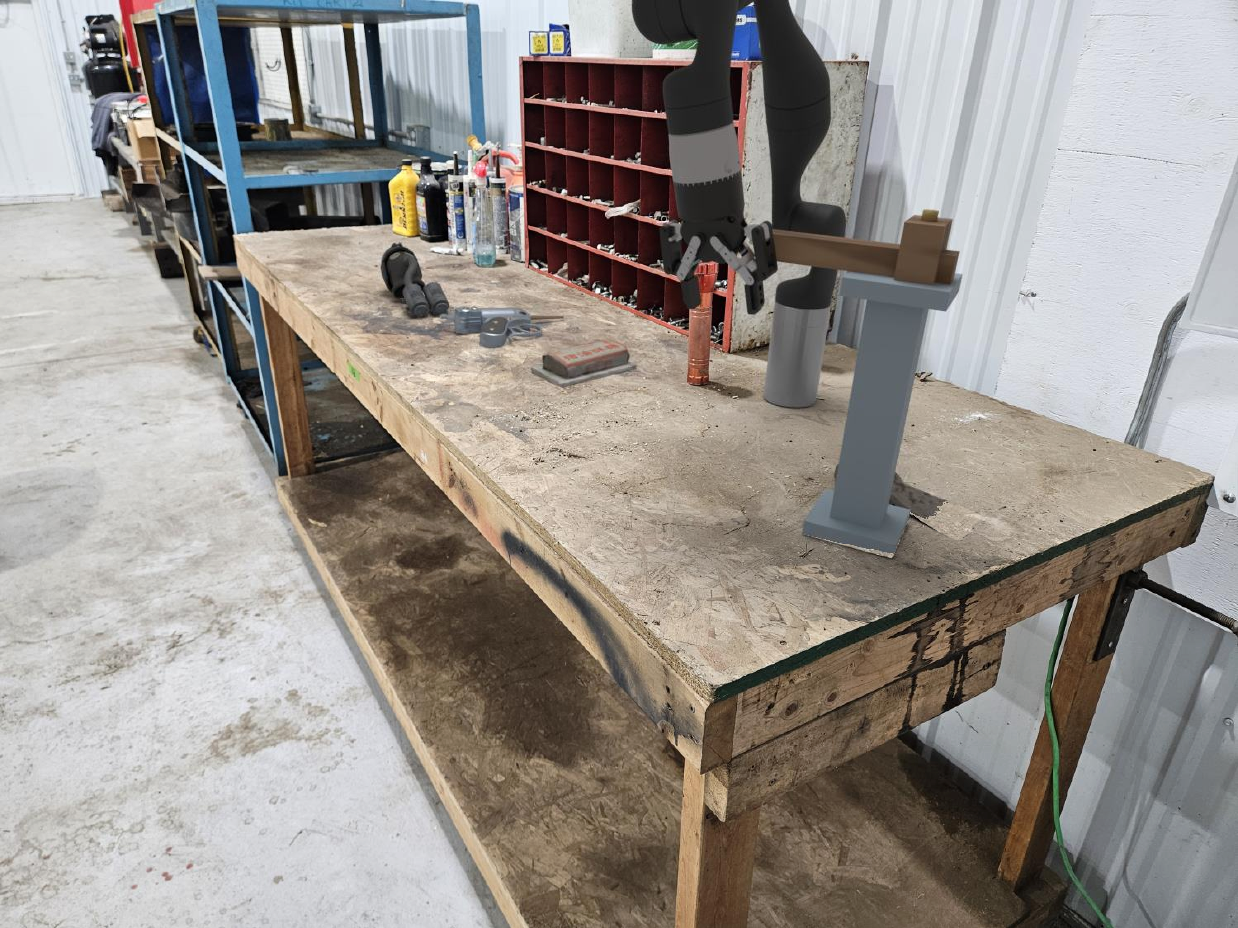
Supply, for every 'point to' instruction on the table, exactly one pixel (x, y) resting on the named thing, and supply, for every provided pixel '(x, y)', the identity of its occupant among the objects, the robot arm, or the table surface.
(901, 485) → the axe head
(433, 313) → the gas mask
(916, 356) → the stand
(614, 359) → the packaged product
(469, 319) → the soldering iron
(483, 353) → the table surface
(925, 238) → the marking gauge
